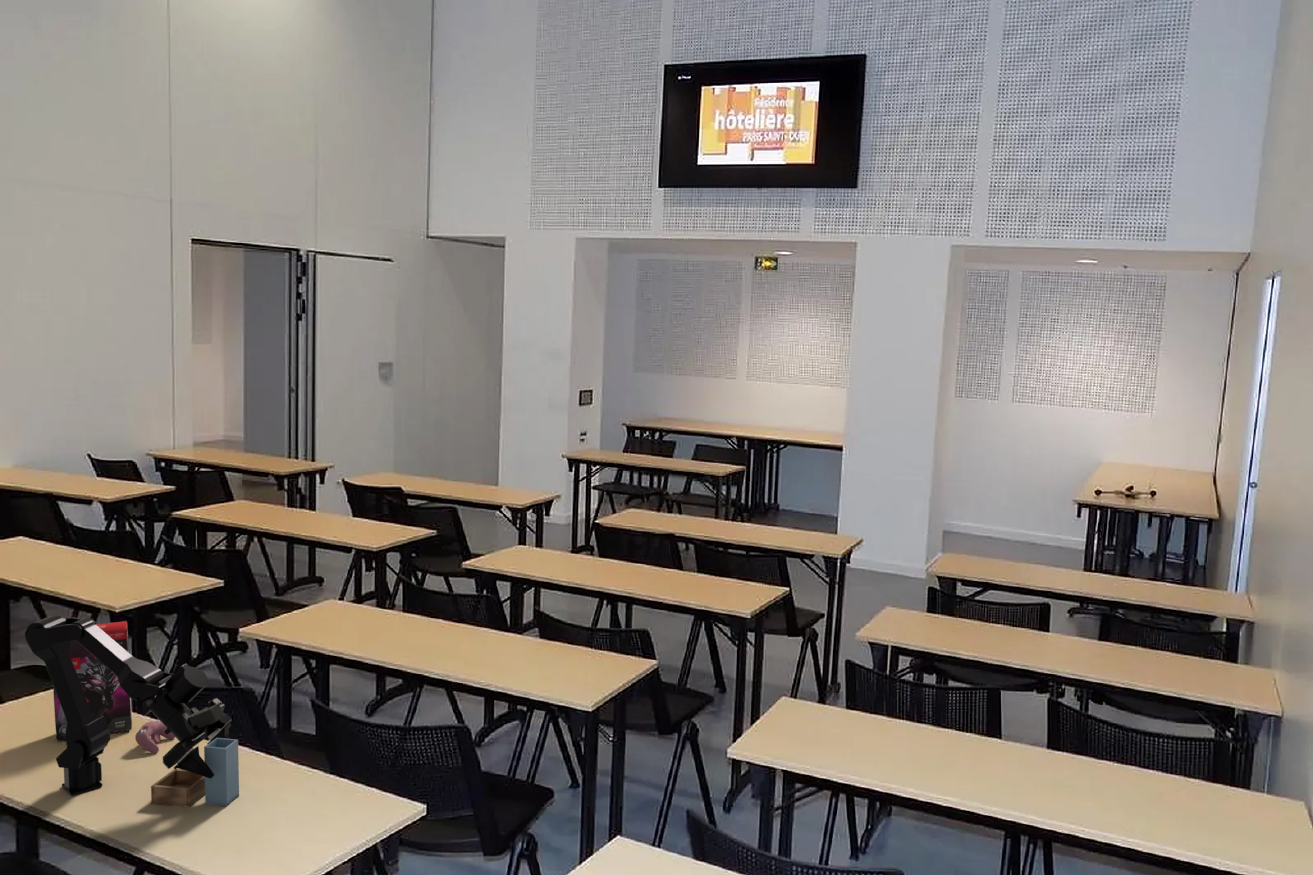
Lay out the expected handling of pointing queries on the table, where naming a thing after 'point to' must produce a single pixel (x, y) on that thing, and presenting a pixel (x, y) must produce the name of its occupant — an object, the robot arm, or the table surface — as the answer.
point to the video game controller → (152, 735)
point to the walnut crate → (178, 789)
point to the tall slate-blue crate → (222, 771)
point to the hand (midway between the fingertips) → (224, 768)
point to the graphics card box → (99, 685)
